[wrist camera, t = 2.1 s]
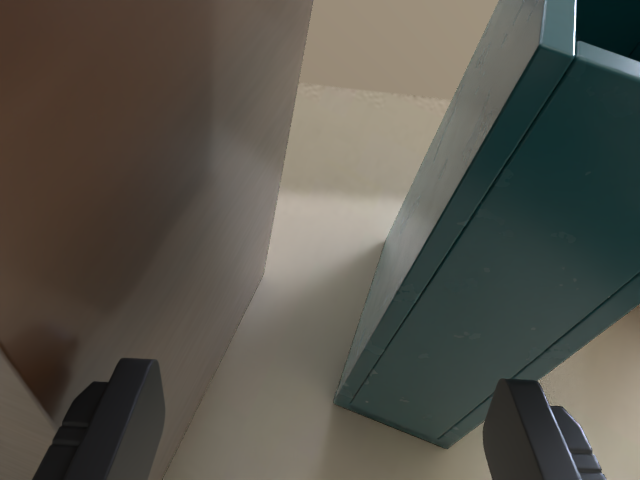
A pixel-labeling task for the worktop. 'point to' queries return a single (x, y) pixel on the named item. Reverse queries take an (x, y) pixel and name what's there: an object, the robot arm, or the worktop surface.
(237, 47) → the pedestal
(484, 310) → the canister
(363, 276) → the worktop surface
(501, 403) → the robot arm
